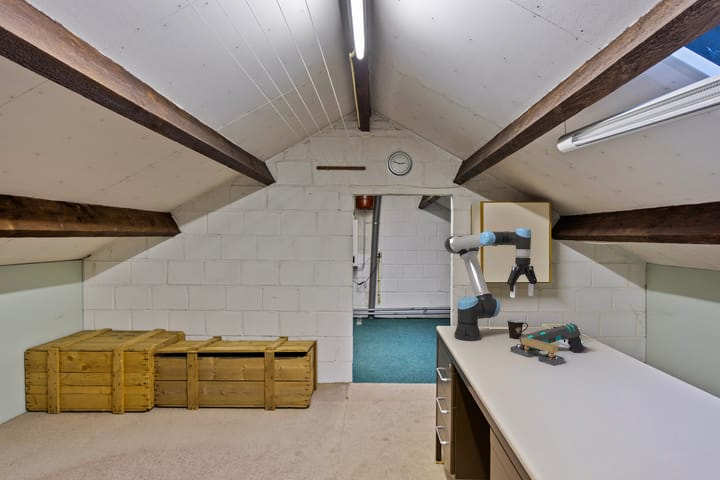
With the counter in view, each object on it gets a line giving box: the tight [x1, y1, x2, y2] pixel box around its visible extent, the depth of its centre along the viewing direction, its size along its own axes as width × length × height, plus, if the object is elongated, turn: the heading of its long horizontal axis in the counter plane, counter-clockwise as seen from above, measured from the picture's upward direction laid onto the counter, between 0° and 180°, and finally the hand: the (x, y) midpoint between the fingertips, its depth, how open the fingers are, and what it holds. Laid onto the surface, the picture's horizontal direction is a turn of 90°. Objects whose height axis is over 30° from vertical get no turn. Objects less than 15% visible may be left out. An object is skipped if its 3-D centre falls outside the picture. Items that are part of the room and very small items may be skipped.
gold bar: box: [520, 337, 559, 358], centre depth 201 cm, size 18×4×8 cm, turn 28°
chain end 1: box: [509, 343, 540, 358], centre depth 208 cm, size 11×8×4 cm
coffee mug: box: [507, 318, 529, 340], centre depth 239 cm, size 12×9×10 cm
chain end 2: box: [537, 353, 565, 366], centre depth 194 cm, size 8×8×3 cm
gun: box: [518, 323, 585, 354], centre depth 213 cm, size 7×29×15 cm, turn 83°
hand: (521, 296), depth 218 cm, fingers open, 13 cm apart
